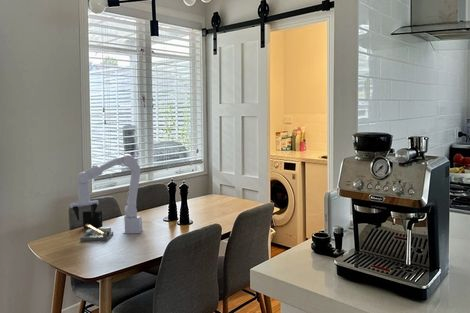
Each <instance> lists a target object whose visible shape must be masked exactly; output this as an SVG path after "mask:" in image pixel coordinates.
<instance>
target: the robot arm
mask: <svg viewBox="0 0 470 313" xmlns="http://www.w3.org/2000/svg"><path fill="white" fill-rule="evenodd" d="M123 165H124V166H125V167H126V168H129V170H130V172H131V174H130V180H129V186H128V187H129V189H128V196H127V200H126V204H125V205H124V208H123V209H124V212H125V214H124V218H123V219H124V231H123V232H122V234H140V233H141V232H142V231H143V218H142V216H140V215H138V209H137V198H138V192H139V191H138V190H139V183H140V176H141V171H142V169H141V167H140V165H139V163H138V161H137V159H136V158H135V157H134V156H133V155H131V154H130V153H124V154H123V155H119V156H117V157H114V158H113V159H111V160H108V161H107V162H105V163H103V164H101V165H98V164H96V165H95V164H93V165H92V167H91V168H87V169H84V170H83V171H81V172H79V173H78V174H77V177H76V178H77V185H78V186H77V192H78V193H77V194H78V196H77V197H78V202H73V203H69V207H70V208H71V209H72V210H73V212H74V214H75V217H76V220H77V221H80V215H79V214H80V213H79V212H80V209H79V207H87V206H90V210H91V217H92V218H94V214H95V210H97V208H98V205H99V204H100V203H99V200H91V196H90V184H89V181H90V180H93V179H95V178H97V177H99V176H101V175H103V172H105V171H107V170H109V169H110V168H112V167H113V168H114V166H115V167H116V166H123Z"/></svg>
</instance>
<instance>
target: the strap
mask: <svg viewBox="0 0 470 313" xmlns="http://www.w3.org/2000/svg"><path fill="white" fill-rule="evenodd" d="M85 226H86V227H88V228H87V229H92V230H93V232H97V233H99V234H101V235H103V233H104V232H102V231H100V230H99V229H96V228H94V227H93V226H91V225H89V224H86V225H85ZM107 235H108V234H107Z"/></svg>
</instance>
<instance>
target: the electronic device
mask: <svg viewBox="0 0 470 313" xmlns="http://www.w3.org/2000/svg"><path fill="white" fill-rule="evenodd" d="M86 224H89V225H91V226H93V227H94V228H97V229H98V228H100V227H103V213H102V210H100V209H98V210H97V209H96V210H95V214H94V218H92V217H91V209H85V210H83V211H82V225H83V228H84V229H89V228H88V227H86V226H85V225H86ZM98 230H99V229H98Z"/></svg>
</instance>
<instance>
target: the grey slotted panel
mask: <svg viewBox="0 0 470 313" xmlns="http://www.w3.org/2000/svg"><path fill="white" fill-rule="evenodd" d="M98 230H100V231H102V232H104V233H103V235H101V234H99V233H97V232H96V231H93V233H92V234H87V233H86V232H85V233H84V234H83V235H82V236H80V242H81V243H83V242H86V243H87V242H88V243H89V242H97V241H101V242H108V241H109V240H110V239H112V237H113V236H114V231H112V227H111V226H110V227H109V226H106V227H105V226H102V227H100V228H99V229H98ZM107 234H108V235H107Z"/></svg>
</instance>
